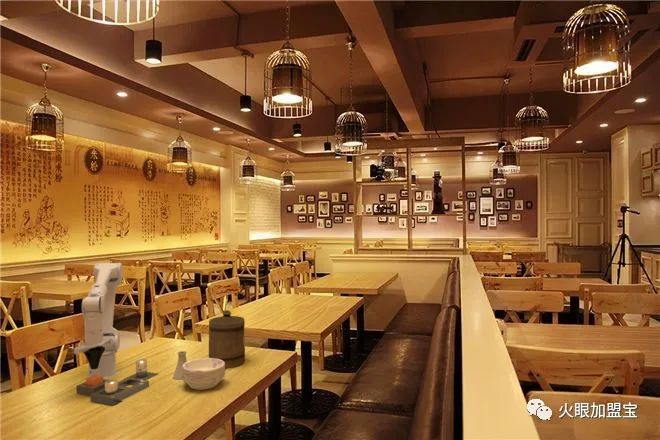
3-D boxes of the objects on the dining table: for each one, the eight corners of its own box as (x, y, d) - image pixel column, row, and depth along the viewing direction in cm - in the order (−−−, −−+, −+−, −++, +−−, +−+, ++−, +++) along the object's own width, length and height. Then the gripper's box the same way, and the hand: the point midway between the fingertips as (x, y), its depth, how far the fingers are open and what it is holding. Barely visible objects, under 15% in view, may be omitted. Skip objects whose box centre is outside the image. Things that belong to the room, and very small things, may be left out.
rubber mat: (123, 380, 170) (123, 378, 170) (141, 372, 178) (141, 371, 178) (142, 383, 167) (142, 381, 167) (159, 375, 175) (159, 373, 175)
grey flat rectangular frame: (90, 401, 151) (90, 394, 151) (127, 384, 166) (127, 377, 166) (113, 405, 148) (113, 398, 148) (149, 387, 163) (149, 381, 162)
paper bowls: (233, 381, 169) (233, 360, 169) (206, 396, 155) (206, 373, 155) (201, 375, 175) (201, 354, 175) (172, 389, 161) (172, 367, 161)
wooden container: (252, 360, 192) (251, 309, 191) (226, 371, 179) (226, 316, 179) (227, 355, 200) (226, 305, 199) (201, 364, 187) (200, 312, 187)
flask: (186, 382, 168) (185, 355, 168) (168, 381, 169) (168, 354, 169) (195, 375, 175) (195, 349, 175) (178, 374, 176) (178, 348, 176)
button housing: (76, 394, 157) (76, 385, 157) (95, 385, 165) (95, 377, 165) (93, 397, 155) (93, 388, 155) (112, 388, 162) (112, 380, 162)
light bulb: (102, 400, 152) (102, 382, 152) (111, 396, 156) (111, 378, 156) (111, 402, 150) (111, 384, 150) (120, 397, 154) (120, 380, 154)
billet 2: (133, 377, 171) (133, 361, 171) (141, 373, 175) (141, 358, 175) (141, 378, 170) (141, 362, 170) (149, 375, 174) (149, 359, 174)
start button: (86, 387, 159) (85, 378, 159) (95, 383, 162) (95, 374, 162) (94, 388, 157) (94, 379, 157) (103, 384, 161) (103, 376, 161)
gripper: (84, 336, 151) (85, 376, 151) (118, 326, 165) (119, 363, 165) (69, 334, 154) (69, 374, 154) (104, 324, 167) (104, 361, 167)
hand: (94, 368), depth 160 cm, fingers closed
